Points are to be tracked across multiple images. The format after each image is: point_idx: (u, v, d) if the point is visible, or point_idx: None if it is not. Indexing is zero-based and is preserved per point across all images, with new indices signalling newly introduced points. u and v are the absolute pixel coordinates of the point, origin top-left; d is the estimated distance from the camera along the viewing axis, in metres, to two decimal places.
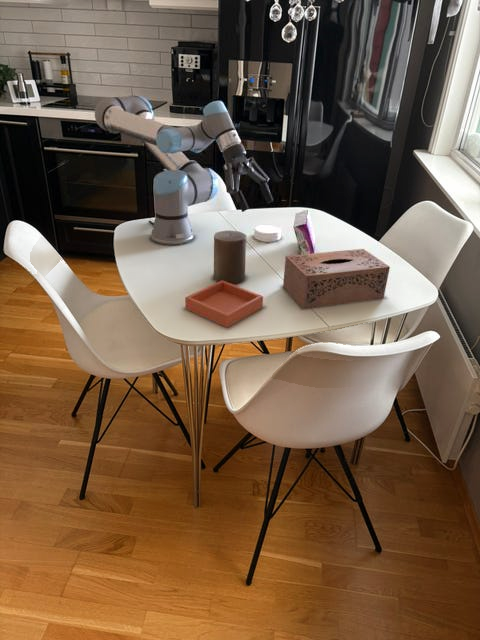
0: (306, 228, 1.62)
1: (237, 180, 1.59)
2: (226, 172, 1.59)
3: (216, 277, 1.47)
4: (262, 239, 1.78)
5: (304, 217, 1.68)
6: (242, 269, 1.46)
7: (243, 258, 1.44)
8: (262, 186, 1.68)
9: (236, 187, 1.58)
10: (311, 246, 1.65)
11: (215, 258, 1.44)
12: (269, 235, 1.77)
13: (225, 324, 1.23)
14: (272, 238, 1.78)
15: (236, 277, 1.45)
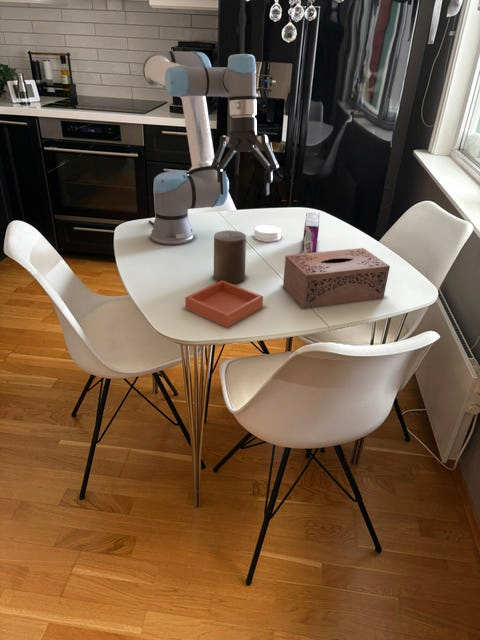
0: (316, 231, 1.62)
1: (224, 159, 1.41)
2: None
3: (216, 277, 1.47)
4: (262, 239, 1.78)
5: (316, 219, 1.68)
6: (242, 269, 1.46)
7: (243, 258, 1.44)
8: None
9: (218, 167, 1.43)
10: (314, 250, 1.65)
11: (215, 258, 1.44)
12: (269, 235, 1.77)
13: (225, 324, 1.23)
14: (272, 238, 1.78)
15: (236, 277, 1.45)
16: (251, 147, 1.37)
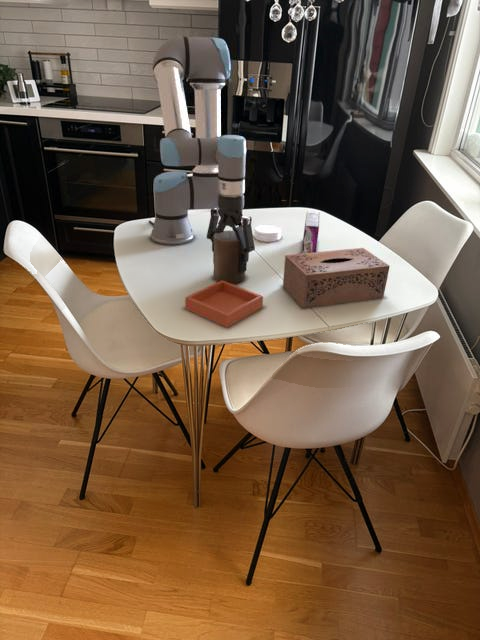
0: (317, 231, 1.62)
1: (216, 232, 1.45)
2: None
3: (216, 277, 1.47)
4: (262, 239, 1.78)
5: (316, 219, 1.68)
6: None
7: None
8: None
9: (212, 238, 1.47)
10: (314, 250, 1.65)
11: (215, 258, 1.44)
12: (269, 235, 1.77)
13: (225, 324, 1.23)
14: (272, 238, 1.78)
15: (236, 277, 1.46)
16: (233, 225, 1.39)
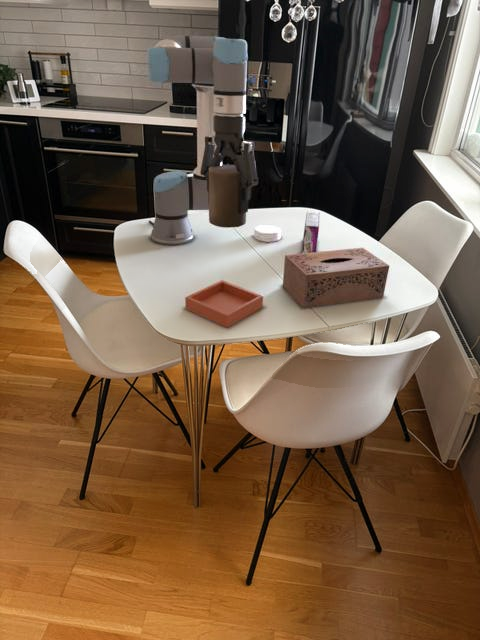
0: (317, 231, 1.62)
1: (211, 165, 1.21)
2: None
3: (212, 220, 1.23)
4: (262, 239, 1.78)
5: (316, 219, 1.68)
6: None
7: None
8: None
9: (207, 174, 1.23)
10: (314, 250, 1.65)
11: (210, 196, 1.21)
12: (269, 235, 1.77)
13: (225, 324, 1.23)
14: (272, 238, 1.78)
15: (236, 220, 1.22)
16: (232, 154, 1.15)
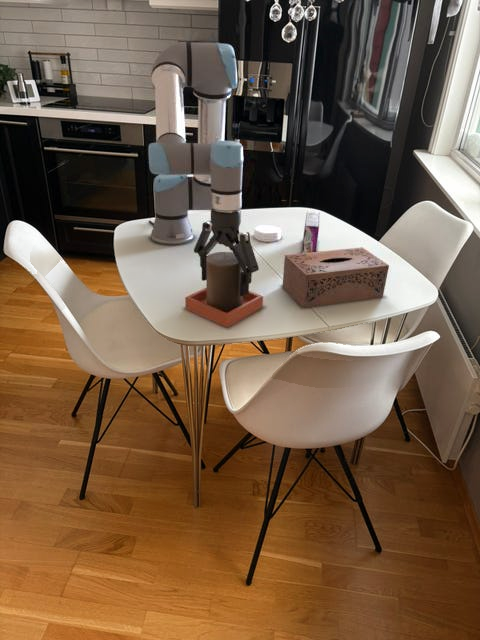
0: (317, 231, 1.62)
1: (206, 247, 1.27)
2: None
3: (209, 305, 1.29)
4: (262, 239, 1.78)
5: (316, 219, 1.68)
6: (239, 296, 1.28)
7: None
8: None
9: (200, 253, 1.29)
10: (314, 250, 1.65)
11: (208, 284, 1.27)
12: (269, 235, 1.77)
13: (225, 324, 1.23)
14: (272, 238, 1.78)
15: (232, 306, 1.28)
16: (229, 244, 1.20)
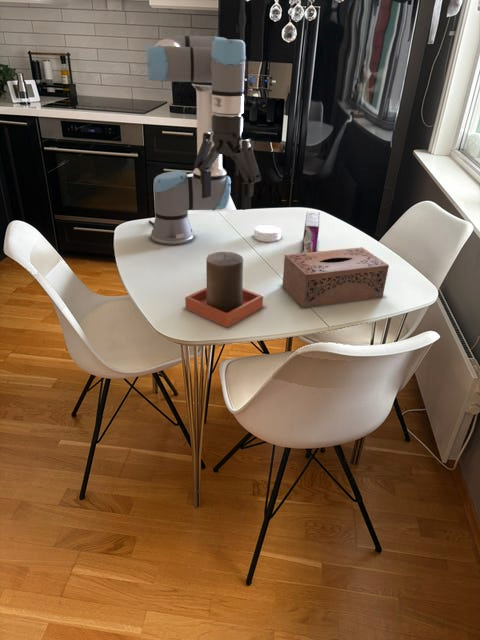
0: (317, 231, 1.62)
1: (206, 160, 1.23)
2: None
3: (209, 305, 1.29)
4: (262, 239, 1.78)
5: (316, 219, 1.68)
6: (239, 296, 1.28)
7: (240, 284, 1.26)
8: None
9: (201, 167, 1.25)
10: (314, 250, 1.65)
11: (208, 284, 1.27)
12: (269, 235, 1.77)
13: (225, 324, 1.23)
14: (272, 238, 1.78)
15: (232, 306, 1.28)
16: (231, 152, 1.16)
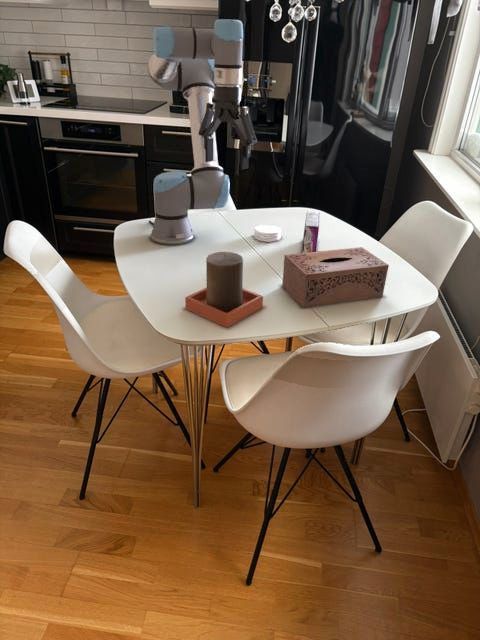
0: (317, 231, 1.62)
1: (209, 127, 1.41)
2: None
3: (209, 305, 1.29)
4: (262, 239, 1.78)
5: (316, 219, 1.68)
6: (239, 296, 1.28)
7: (240, 284, 1.26)
8: None
9: (204, 134, 1.43)
10: (314, 250, 1.65)
11: (208, 284, 1.27)
12: (269, 235, 1.77)
13: (225, 324, 1.23)
14: (272, 238, 1.78)
15: (232, 305, 1.28)
16: (231, 118, 1.34)
